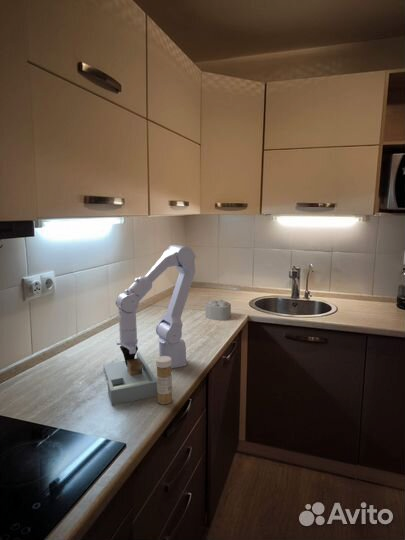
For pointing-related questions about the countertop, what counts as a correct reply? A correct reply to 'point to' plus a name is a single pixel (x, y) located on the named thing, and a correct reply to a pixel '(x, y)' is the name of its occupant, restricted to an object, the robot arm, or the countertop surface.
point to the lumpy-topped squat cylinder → (218, 310)
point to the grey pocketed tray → (129, 382)
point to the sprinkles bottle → (164, 379)
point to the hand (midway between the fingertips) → (129, 366)
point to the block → (134, 366)
